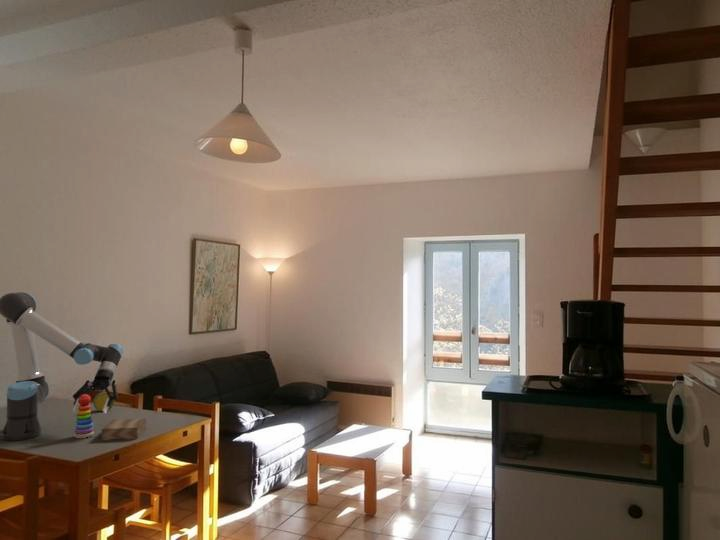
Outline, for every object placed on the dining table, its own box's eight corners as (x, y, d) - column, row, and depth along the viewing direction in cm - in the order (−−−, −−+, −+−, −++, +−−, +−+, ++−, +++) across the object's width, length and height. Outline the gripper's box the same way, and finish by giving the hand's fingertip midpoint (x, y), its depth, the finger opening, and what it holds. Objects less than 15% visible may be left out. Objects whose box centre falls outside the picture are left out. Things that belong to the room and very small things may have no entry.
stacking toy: (98, 434, 237) (98, 393, 237) (84, 439, 229) (85, 397, 230) (84, 433, 239) (84, 392, 239) (70, 438, 231) (70, 395, 232)
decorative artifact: (93, 412, 276) (93, 393, 276) (92, 410, 282) (92, 391, 282) (114, 410, 281) (114, 391, 281) (112, 407, 287) (112, 389, 287)
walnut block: (101, 440, 228) (101, 429, 228) (112, 430, 243) (112, 420, 243) (137, 438, 230) (137, 427, 231) (145, 429, 245) (145, 418, 245)
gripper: (133, 377, 253) (119, 416, 238) (82, 377, 254) (64, 416, 238) (129, 368, 248) (113, 408, 233) (76, 368, 248) (58, 408, 233)
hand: (89, 412), depth 236 cm, fingers open, 13 cm apart
